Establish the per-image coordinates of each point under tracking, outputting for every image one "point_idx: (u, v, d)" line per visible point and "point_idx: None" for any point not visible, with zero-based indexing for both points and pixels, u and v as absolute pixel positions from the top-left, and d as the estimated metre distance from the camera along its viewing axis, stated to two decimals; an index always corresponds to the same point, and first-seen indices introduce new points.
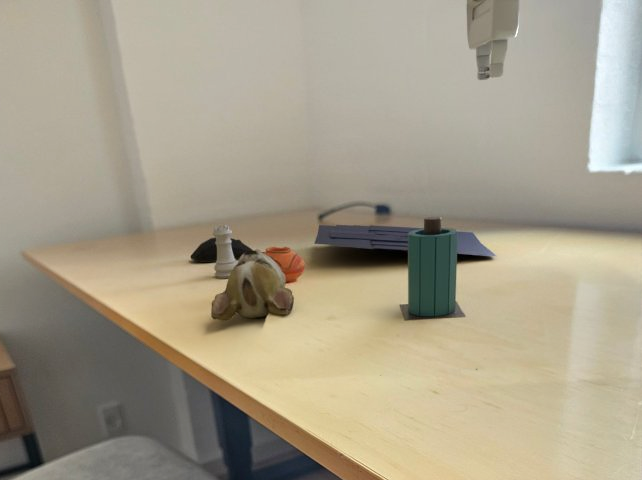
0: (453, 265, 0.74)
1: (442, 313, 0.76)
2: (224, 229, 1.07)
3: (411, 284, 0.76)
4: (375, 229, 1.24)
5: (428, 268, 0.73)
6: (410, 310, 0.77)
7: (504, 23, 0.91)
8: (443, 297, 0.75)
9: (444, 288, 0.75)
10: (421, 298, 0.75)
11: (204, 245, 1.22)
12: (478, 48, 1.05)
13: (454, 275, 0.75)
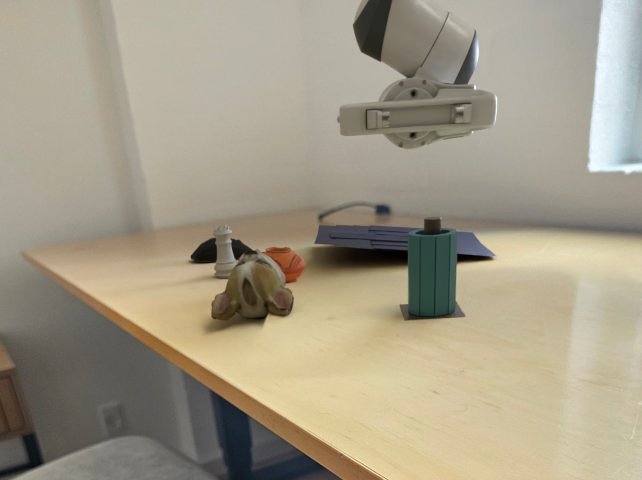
0: (453, 265, 0.74)
1: (442, 313, 0.76)
2: (224, 229, 1.07)
3: (411, 284, 0.76)
4: (375, 229, 1.24)
5: (428, 268, 0.73)
6: (410, 310, 0.77)
7: None
8: (443, 297, 0.75)
9: (444, 288, 0.75)
10: (421, 298, 0.75)
11: (204, 245, 1.22)
12: None
13: (454, 275, 0.75)
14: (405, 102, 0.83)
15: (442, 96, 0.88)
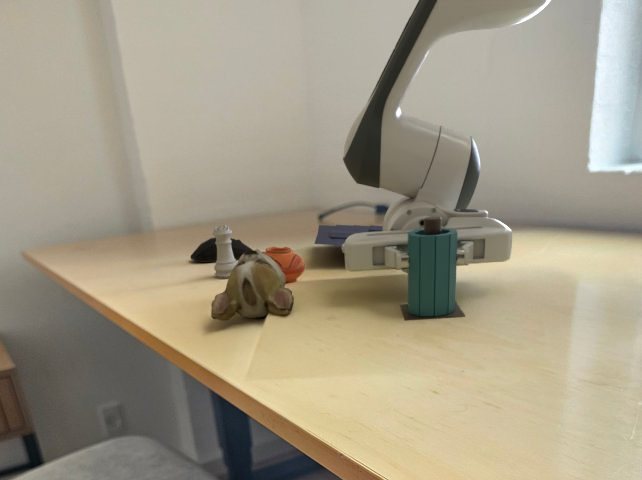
0: (453, 265, 0.74)
1: (442, 313, 0.76)
2: (224, 229, 1.07)
3: (411, 284, 0.76)
4: (375, 229, 1.24)
5: (428, 268, 0.73)
6: (410, 310, 0.77)
7: None
8: (443, 297, 0.75)
9: (444, 288, 0.75)
10: (421, 298, 0.75)
11: (204, 245, 1.22)
12: None
13: (454, 275, 0.75)
14: None
15: (453, 226, 0.83)
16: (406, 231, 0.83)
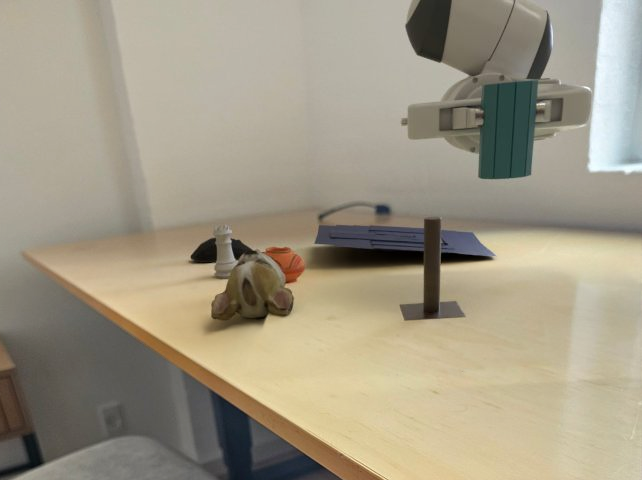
0: (532, 120, 0.68)
1: (518, 175, 0.69)
2: (224, 229, 1.07)
3: (484, 143, 0.69)
4: (375, 229, 1.24)
5: (505, 121, 0.67)
6: (482, 175, 0.71)
7: (407, 125, 0.75)
8: (520, 156, 0.69)
9: (522, 145, 0.68)
10: (496, 158, 0.69)
11: (204, 245, 1.22)
12: None
13: (532, 132, 0.69)
14: None
15: None
16: None
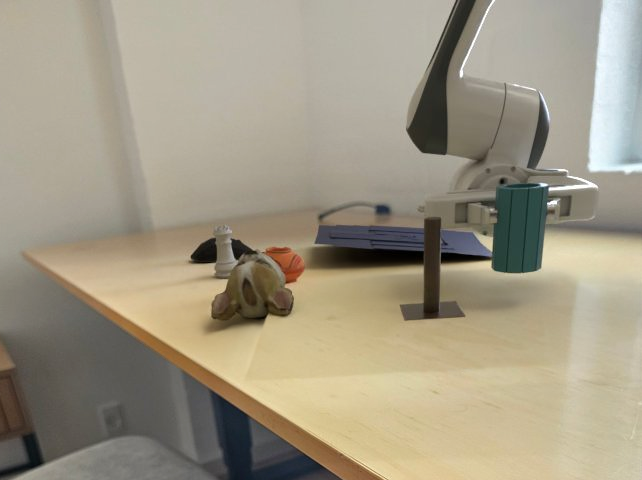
0: (543, 220, 0.73)
1: (530, 270, 0.74)
2: (224, 229, 1.07)
3: (498, 240, 0.74)
4: (375, 229, 1.24)
5: (518, 223, 0.72)
6: (495, 267, 0.76)
7: None
8: (532, 253, 0.73)
9: (533, 243, 0.73)
10: (509, 254, 0.74)
11: (204, 245, 1.22)
12: None
13: (543, 230, 0.73)
14: None
15: None
16: (485, 190, 0.81)
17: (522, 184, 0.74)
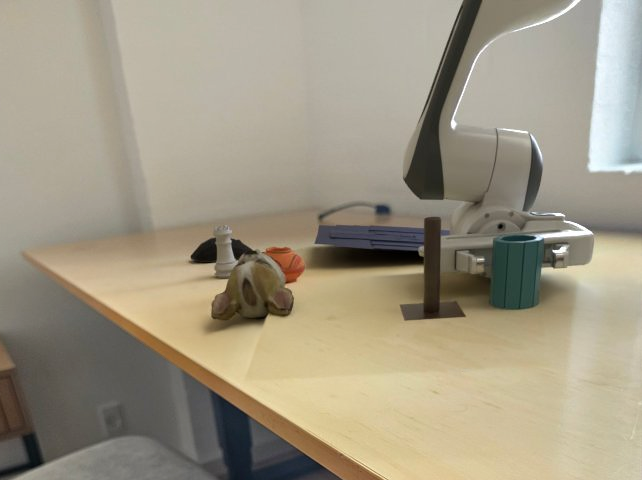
0: (539, 271, 0.75)
1: None
2: (224, 229, 1.07)
3: (495, 290, 0.77)
4: (375, 229, 1.24)
5: (514, 274, 0.74)
6: None
7: None
8: (528, 302, 0.76)
9: (529, 294, 0.75)
10: (506, 303, 0.76)
11: (204, 245, 1.22)
12: None
13: (539, 281, 0.76)
14: None
15: (531, 229, 0.83)
16: (484, 234, 0.84)
17: (518, 236, 0.77)
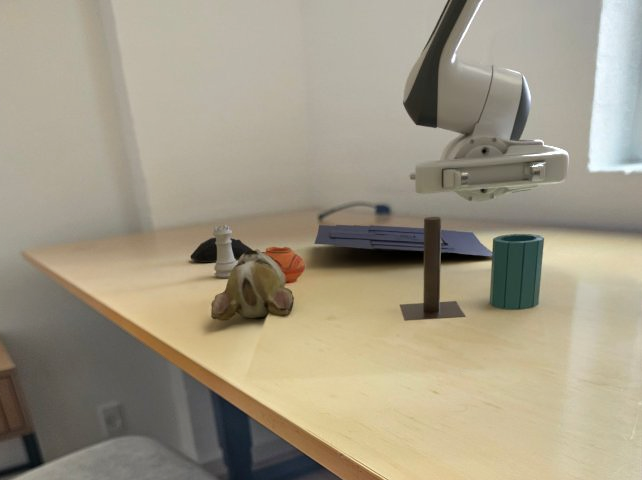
0: (539, 271, 0.75)
1: None
2: (224, 229, 1.07)
3: (495, 290, 0.77)
4: (375, 229, 1.24)
5: (514, 274, 0.74)
6: None
7: (415, 181, 0.90)
8: (528, 302, 0.76)
9: (529, 294, 0.75)
10: (506, 303, 0.76)
11: (204, 245, 1.22)
12: None
13: (539, 281, 0.76)
14: (480, 161, 0.87)
15: (512, 153, 0.91)
16: (469, 158, 0.92)
17: (518, 236, 0.77)
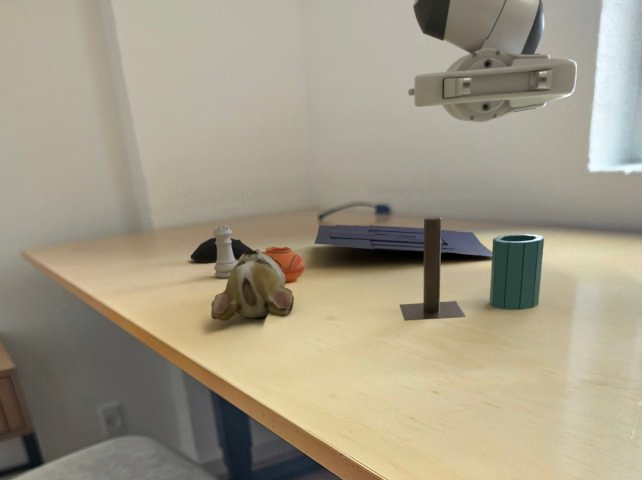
0: (539, 271, 0.75)
1: None
2: (224, 229, 1.07)
3: (495, 290, 0.77)
4: (375, 229, 1.24)
5: (514, 274, 0.74)
6: None
7: (414, 93, 0.85)
8: (528, 302, 0.76)
9: (529, 294, 0.75)
10: (506, 303, 0.76)
11: (204, 245, 1.22)
12: (538, 88, 0.82)
13: (539, 281, 0.76)
14: (483, 70, 0.82)
15: (517, 66, 0.87)
16: None
17: (518, 236, 0.77)
